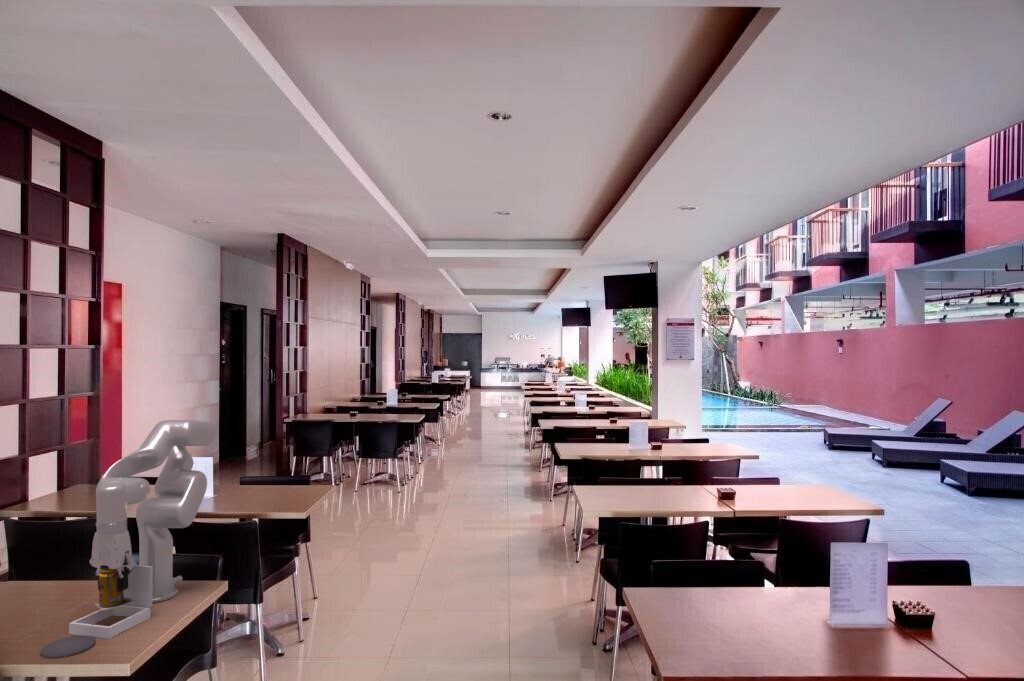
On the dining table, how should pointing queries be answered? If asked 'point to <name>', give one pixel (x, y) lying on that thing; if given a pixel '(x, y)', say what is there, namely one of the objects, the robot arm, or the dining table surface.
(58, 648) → the mat
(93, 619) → the case
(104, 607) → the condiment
